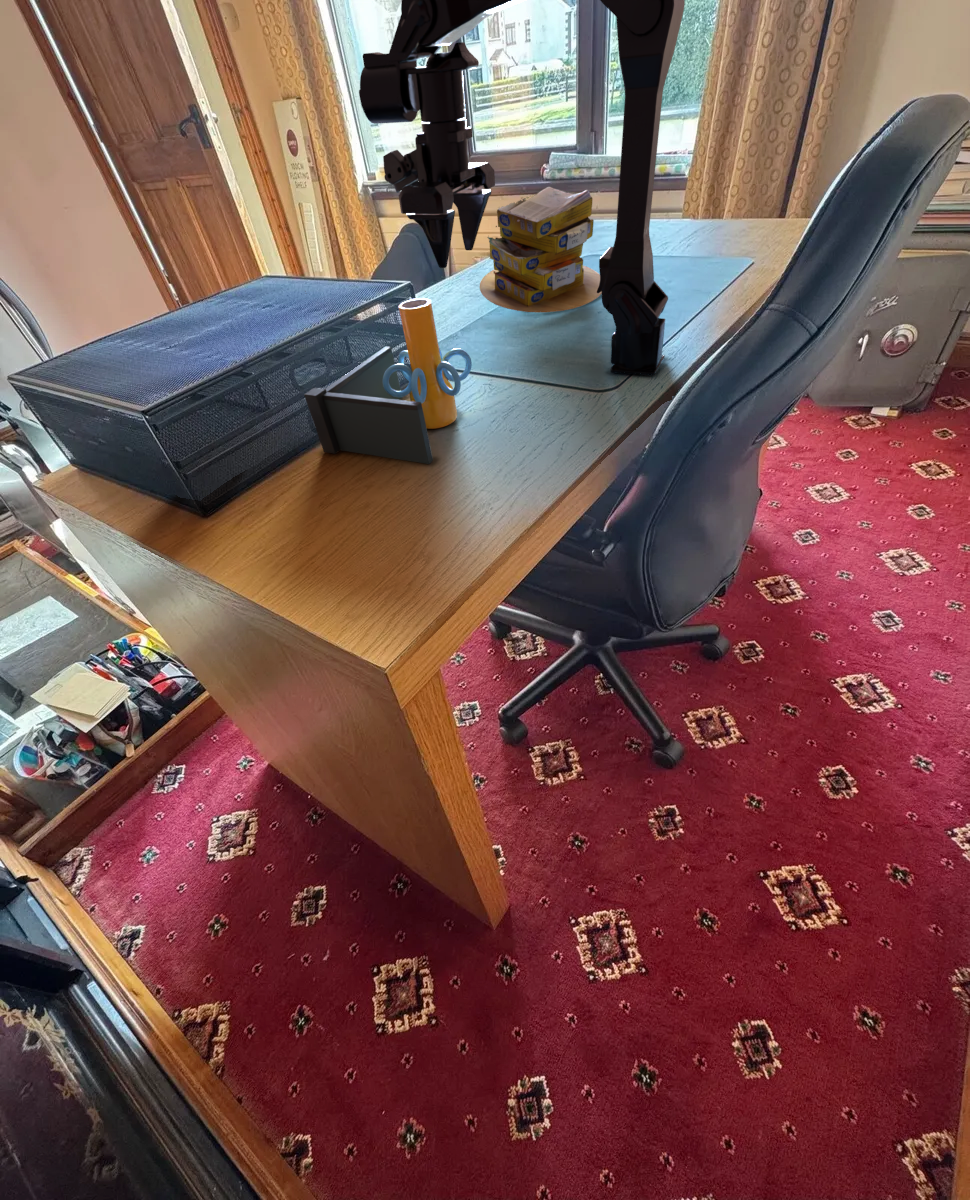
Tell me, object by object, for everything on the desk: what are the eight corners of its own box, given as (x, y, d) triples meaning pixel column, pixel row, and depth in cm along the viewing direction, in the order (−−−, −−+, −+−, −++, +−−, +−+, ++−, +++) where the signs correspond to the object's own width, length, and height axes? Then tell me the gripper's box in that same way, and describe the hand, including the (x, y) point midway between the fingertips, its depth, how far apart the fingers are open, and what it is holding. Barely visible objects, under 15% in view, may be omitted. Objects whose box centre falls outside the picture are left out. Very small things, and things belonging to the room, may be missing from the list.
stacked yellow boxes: (630, 291, 109) (636, 185, 97) (518, 325, 102) (511, 216, 91) (561, 269, 125) (559, 176, 114) (461, 296, 119) (449, 202, 108)
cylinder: (462, 441, 73) (443, 318, 63) (388, 441, 75) (357, 323, 65) (482, 399, 81) (467, 285, 71) (414, 400, 84) (390, 290, 73)
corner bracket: (485, 406, 80) (478, 348, 74) (425, 468, 69) (411, 406, 64) (391, 397, 86) (379, 343, 80) (323, 452, 75) (303, 394, 70)
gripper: (421, 114, 81) (435, 240, 91) (351, 133, 69) (377, 275, 80) (493, 110, 77) (499, 242, 88) (432, 129, 65) (448, 278, 76)
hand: (456, 258), depth 83 cm, fingers open, 9 cm apart
